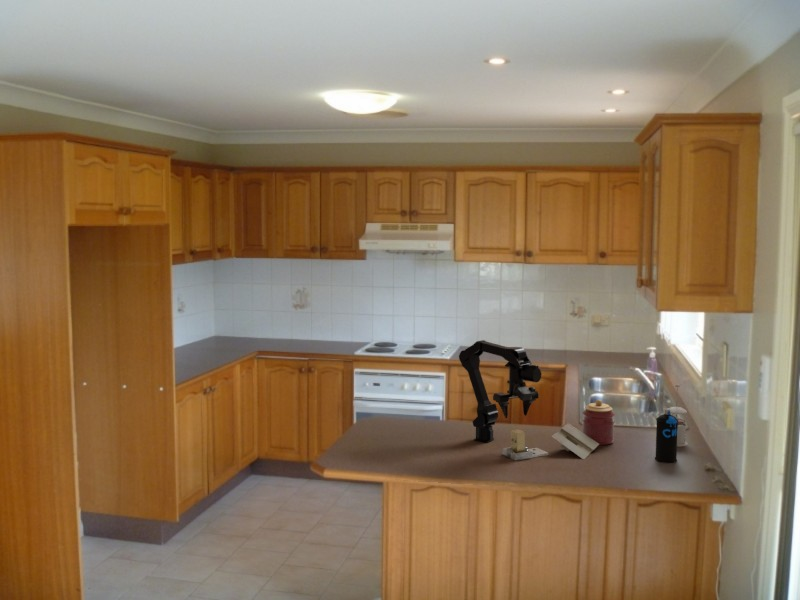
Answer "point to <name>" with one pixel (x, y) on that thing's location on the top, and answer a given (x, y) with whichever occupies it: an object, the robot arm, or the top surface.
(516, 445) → the tan rectangular pillar
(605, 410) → the canister
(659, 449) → the aerosol can
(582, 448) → the pale grey slotted block
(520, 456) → the hinge base
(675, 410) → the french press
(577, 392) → the top surface
